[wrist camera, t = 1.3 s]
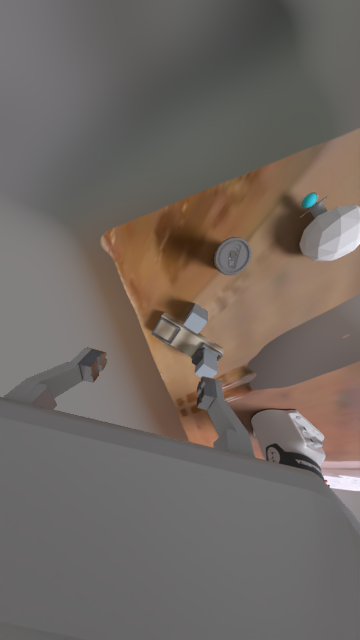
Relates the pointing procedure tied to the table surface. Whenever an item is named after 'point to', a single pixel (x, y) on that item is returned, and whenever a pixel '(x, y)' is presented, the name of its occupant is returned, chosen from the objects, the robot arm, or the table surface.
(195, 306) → the block
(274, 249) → the table surface
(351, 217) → the perfume bottle
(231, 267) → the beer can
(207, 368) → the block
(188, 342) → the rail
